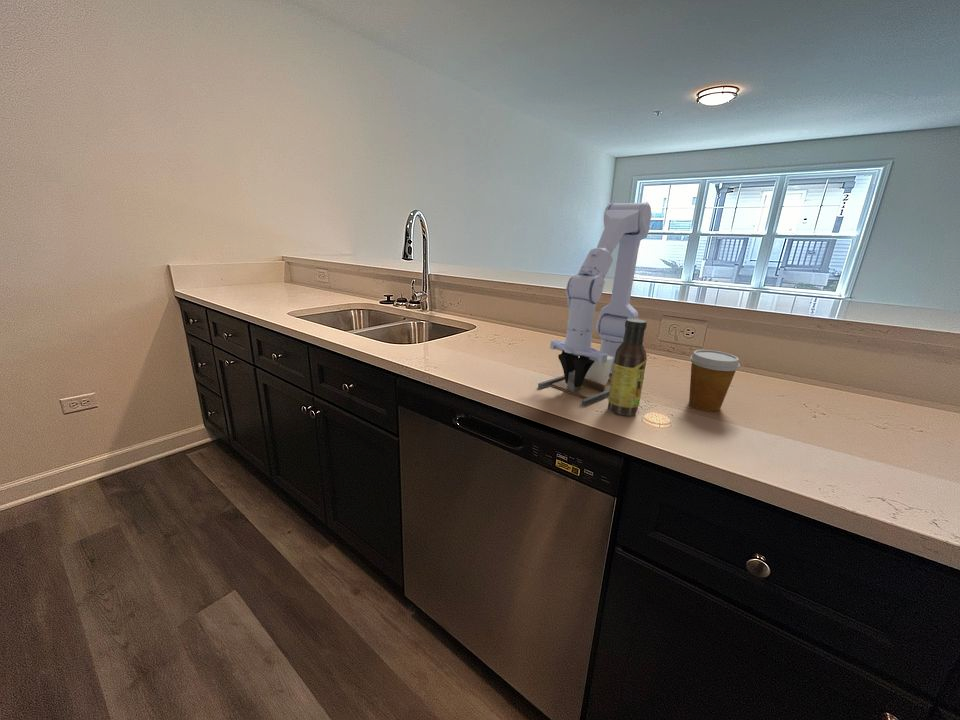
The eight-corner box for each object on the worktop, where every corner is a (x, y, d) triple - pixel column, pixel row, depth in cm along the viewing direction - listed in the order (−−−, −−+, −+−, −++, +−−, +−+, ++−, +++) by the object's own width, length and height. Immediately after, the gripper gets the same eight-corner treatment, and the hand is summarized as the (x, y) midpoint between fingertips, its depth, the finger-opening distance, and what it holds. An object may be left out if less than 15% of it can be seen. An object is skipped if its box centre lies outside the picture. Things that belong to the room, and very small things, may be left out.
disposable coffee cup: (723, 401, 93) (734, 352, 89) (733, 418, 84) (746, 364, 80) (678, 394, 96) (688, 347, 92) (684, 410, 87) (695, 358, 83)
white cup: (611, 388, 97) (615, 360, 95) (582, 385, 98) (585, 358, 96) (608, 378, 103) (611, 352, 101) (581, 375, 104) (584, 350, 102)
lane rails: (581, 373, 108) (582, 369, 108) (626, 388, 98) (627, 384, 98) (537, 387, 97) (538, 383, 96) (584, 406, 87) (584, 401, 87)
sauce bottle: (638, 419, 82) (654, 325, 76) (606, 414, 84) (620, 322, 77) (636, 407, 88) (651, 318, 82) (607, 402, 89) (619, 316, 83)
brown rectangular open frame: (587, 374, 108) (589, 356, 106) (624, 386, 100) (627, 367, 98) (551, 386, 98) (553, 367, 97) (589, 400, 90) (592, 380, 89)
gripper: (543, 324, 93) (539, 378, 97) (597, 337, 82) (589, 398, 87) (562, 321, 97) (557, 373, 101) (615, 333, 87) (607, 390, 91)
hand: (573, 384), depth 94 cm, fingers closed on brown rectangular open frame, 2 cm apart
